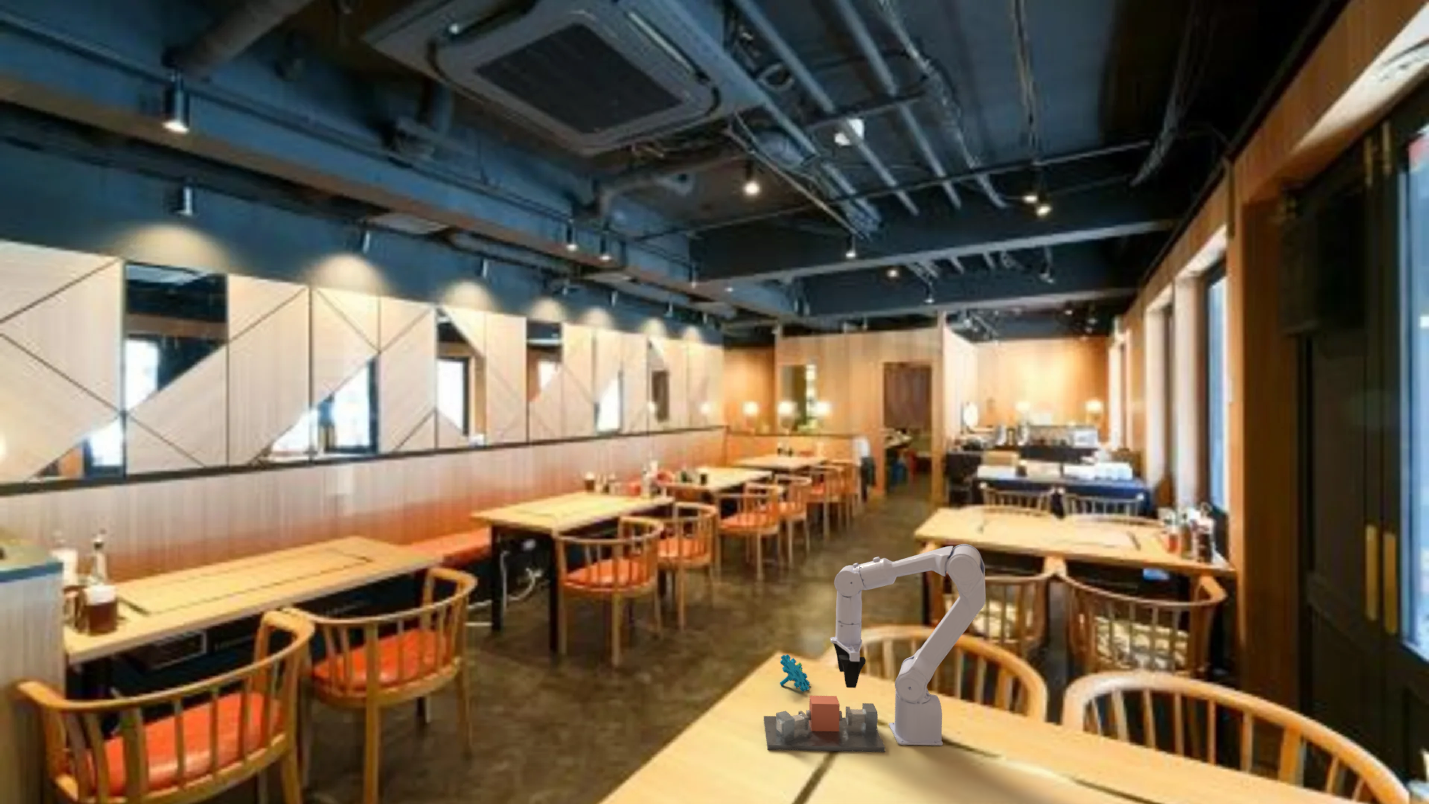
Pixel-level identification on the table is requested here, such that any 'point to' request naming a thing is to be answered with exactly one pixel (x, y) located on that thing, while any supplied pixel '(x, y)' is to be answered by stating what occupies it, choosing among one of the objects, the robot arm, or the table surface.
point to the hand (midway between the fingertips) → (847, 679)
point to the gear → (794, 673)
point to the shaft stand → (825, 732)
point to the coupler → (824, 713)
